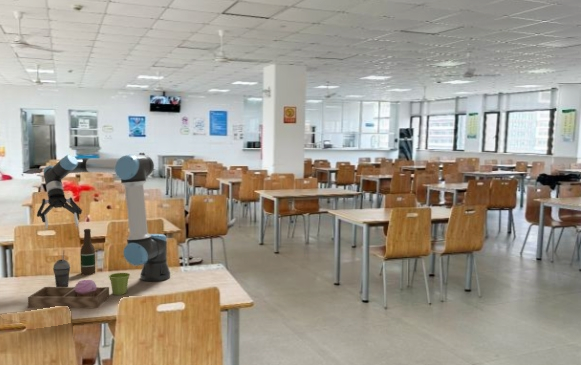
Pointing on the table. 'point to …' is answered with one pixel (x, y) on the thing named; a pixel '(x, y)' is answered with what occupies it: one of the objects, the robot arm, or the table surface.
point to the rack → (66, 298)
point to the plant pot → (119, 282)
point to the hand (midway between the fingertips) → (62, 225)
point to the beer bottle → (87, 254)
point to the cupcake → (85, 288)
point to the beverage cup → (61, 272)
